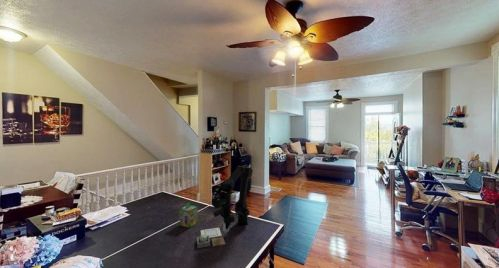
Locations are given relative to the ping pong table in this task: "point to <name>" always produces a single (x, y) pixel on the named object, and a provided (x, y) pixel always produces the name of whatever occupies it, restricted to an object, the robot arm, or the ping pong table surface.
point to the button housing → (203, 244)
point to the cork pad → (218, 241)
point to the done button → (203, 238)
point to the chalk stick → (225, 228)
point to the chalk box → (188, 215)
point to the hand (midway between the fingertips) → (226, 227)
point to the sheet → (211, 232)
